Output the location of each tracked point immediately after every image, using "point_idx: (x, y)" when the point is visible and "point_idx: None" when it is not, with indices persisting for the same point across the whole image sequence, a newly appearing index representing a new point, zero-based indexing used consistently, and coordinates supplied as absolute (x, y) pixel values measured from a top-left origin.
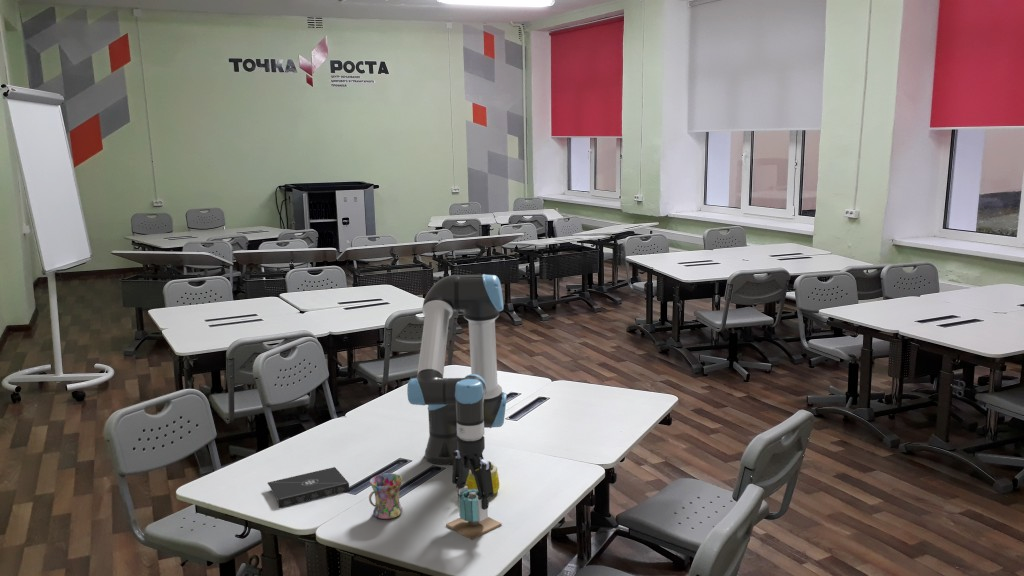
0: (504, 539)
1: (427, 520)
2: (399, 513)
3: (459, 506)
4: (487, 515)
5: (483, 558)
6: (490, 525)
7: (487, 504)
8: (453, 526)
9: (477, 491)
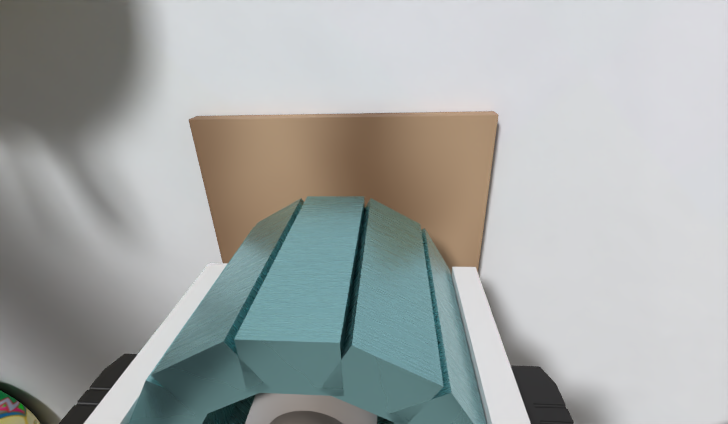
0: (636, 228)
1: (135, 352)
2: (23, 419)
3: None
4: (479, 280)
5: (641, 402)
6: (452, 194)
7: (565, 421)
8: None
9: (256, 392)
